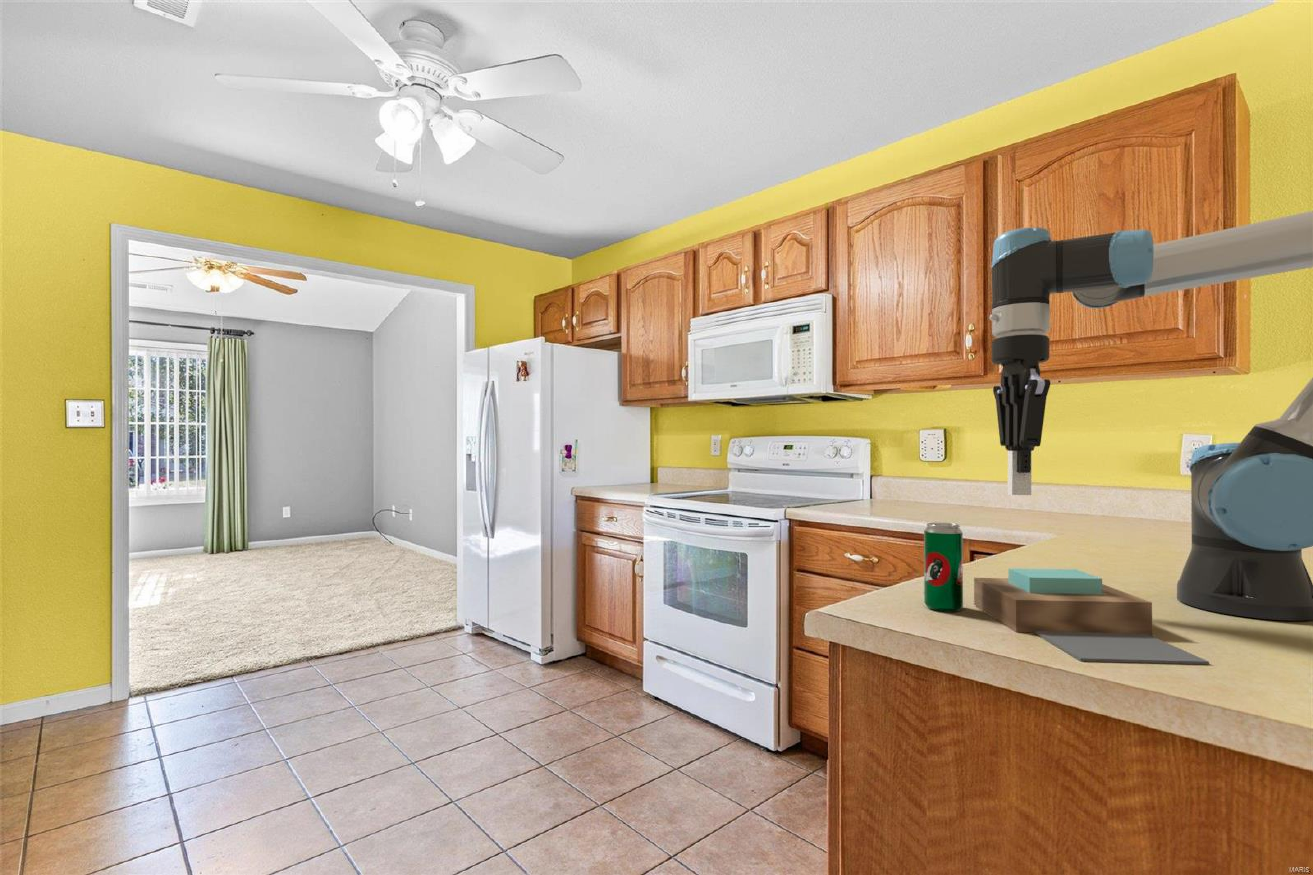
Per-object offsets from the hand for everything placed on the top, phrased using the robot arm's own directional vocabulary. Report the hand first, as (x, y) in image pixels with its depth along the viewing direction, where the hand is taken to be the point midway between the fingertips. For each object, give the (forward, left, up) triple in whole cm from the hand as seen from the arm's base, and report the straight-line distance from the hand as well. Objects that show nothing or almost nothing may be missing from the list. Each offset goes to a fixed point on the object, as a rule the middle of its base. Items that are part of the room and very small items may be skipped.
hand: (1019, 494), depth 96 cm
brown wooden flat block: (0, +10, -16) cm, 19 cm away
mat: (-1, +22, -16) cm, 27 cm away
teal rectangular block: (0, +9, -12) cm, 15 cm away
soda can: (+13, +5, -16) cm, 21 cm away
